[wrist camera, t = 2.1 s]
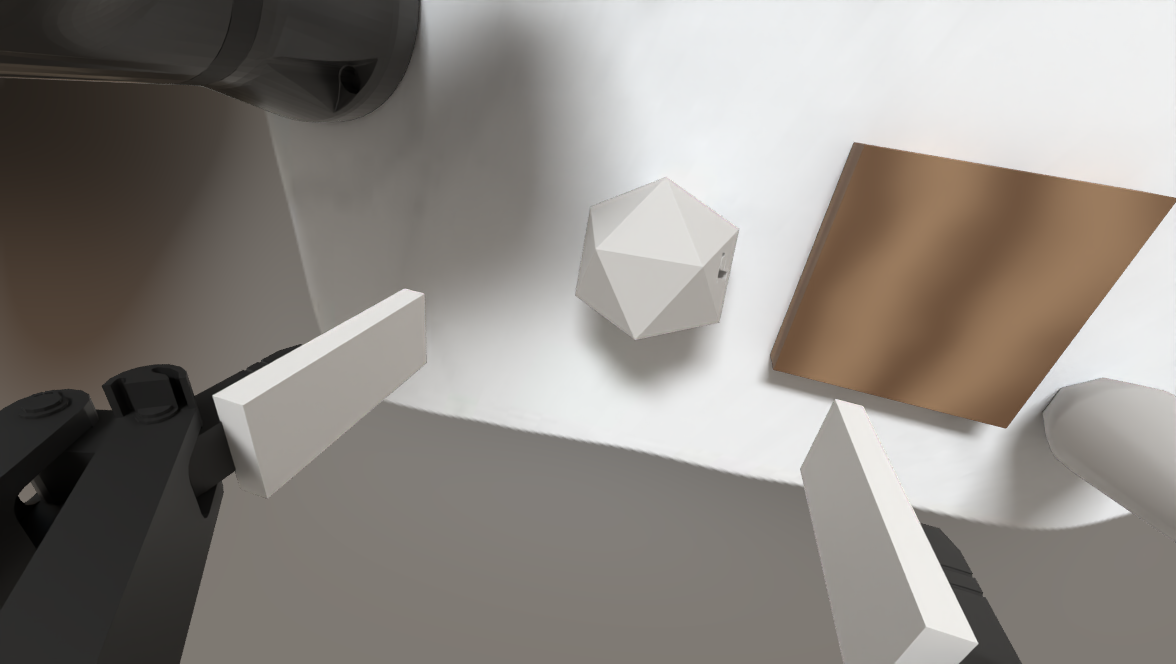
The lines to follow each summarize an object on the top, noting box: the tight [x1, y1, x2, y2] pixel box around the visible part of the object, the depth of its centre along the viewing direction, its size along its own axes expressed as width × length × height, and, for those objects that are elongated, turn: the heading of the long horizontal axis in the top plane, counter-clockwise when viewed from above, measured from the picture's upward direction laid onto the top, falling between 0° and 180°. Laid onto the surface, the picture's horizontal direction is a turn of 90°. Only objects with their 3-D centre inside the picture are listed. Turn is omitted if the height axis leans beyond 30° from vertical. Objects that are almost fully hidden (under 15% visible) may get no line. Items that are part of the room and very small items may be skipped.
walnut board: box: [770, 142, 1176, 428], centre depth 25 cm, size 13×13×2 cm
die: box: [575, 177, 739, 340], centre depth 25 cm, size 8×9×10 cm
